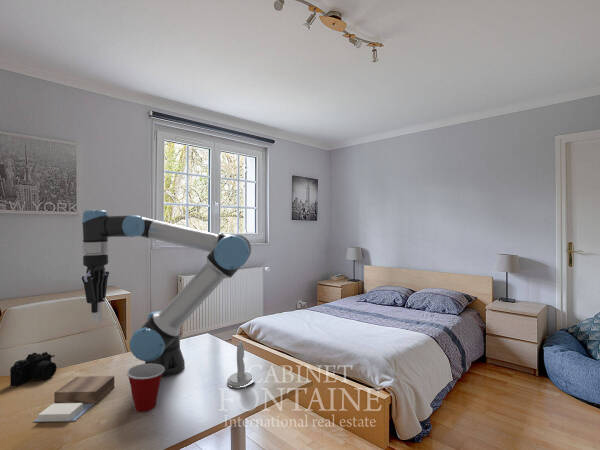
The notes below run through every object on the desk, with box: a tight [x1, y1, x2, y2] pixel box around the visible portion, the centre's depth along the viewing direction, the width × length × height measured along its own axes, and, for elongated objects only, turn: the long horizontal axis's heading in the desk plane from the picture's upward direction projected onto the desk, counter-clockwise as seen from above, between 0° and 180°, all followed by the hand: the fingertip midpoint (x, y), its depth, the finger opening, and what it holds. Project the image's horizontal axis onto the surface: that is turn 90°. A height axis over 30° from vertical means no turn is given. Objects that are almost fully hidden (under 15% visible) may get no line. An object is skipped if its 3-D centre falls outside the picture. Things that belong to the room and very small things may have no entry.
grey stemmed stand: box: [226, 340, 253, 388], centre depth 121 cm, size 10×10×15 cm
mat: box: [33, 404, 95, 423], centre depth 101 cm, size 12×9×1 cm
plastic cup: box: [126, 363, 165, 413], centre depth 104 cm, size 11×11×12 cm
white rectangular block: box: [37, 402, 83, 423], centre depth 99 cm, size 9×6×2 cm, turn 91°
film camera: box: [9, 351, 58, 387], centre depth 124 cm, size 15×10×9 cm, turn 167°
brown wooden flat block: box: [53, 375, 115, 405], centre depth 111 cm, size 13×11×4 cm
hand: (96, 321), depth 117 cm, fingers closed
